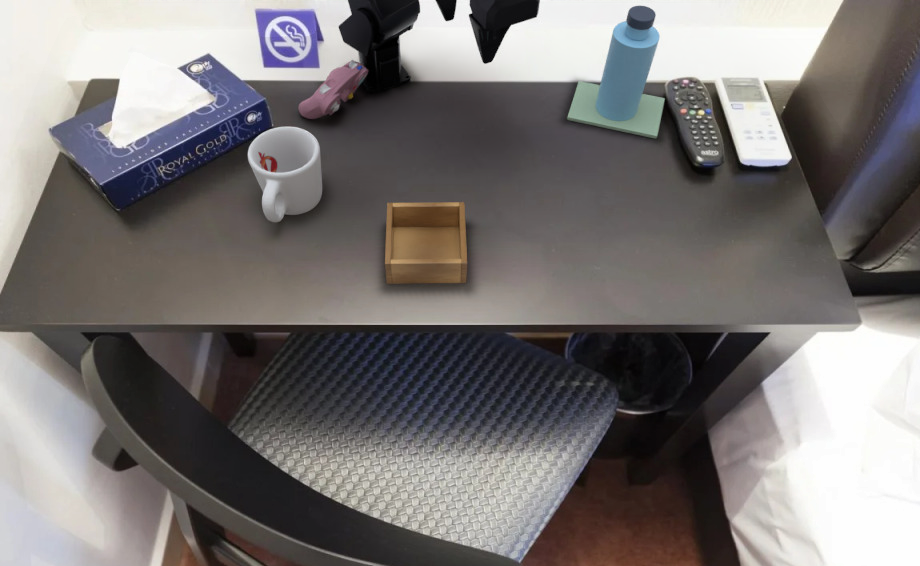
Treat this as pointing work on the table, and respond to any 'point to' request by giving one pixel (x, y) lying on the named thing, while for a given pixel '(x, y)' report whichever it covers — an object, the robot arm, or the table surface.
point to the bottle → (628, 65)
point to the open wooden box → (426, 243)
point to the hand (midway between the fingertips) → (467, 40)
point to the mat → (587, 113)
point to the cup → (287, 171)
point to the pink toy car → (334, 90)
